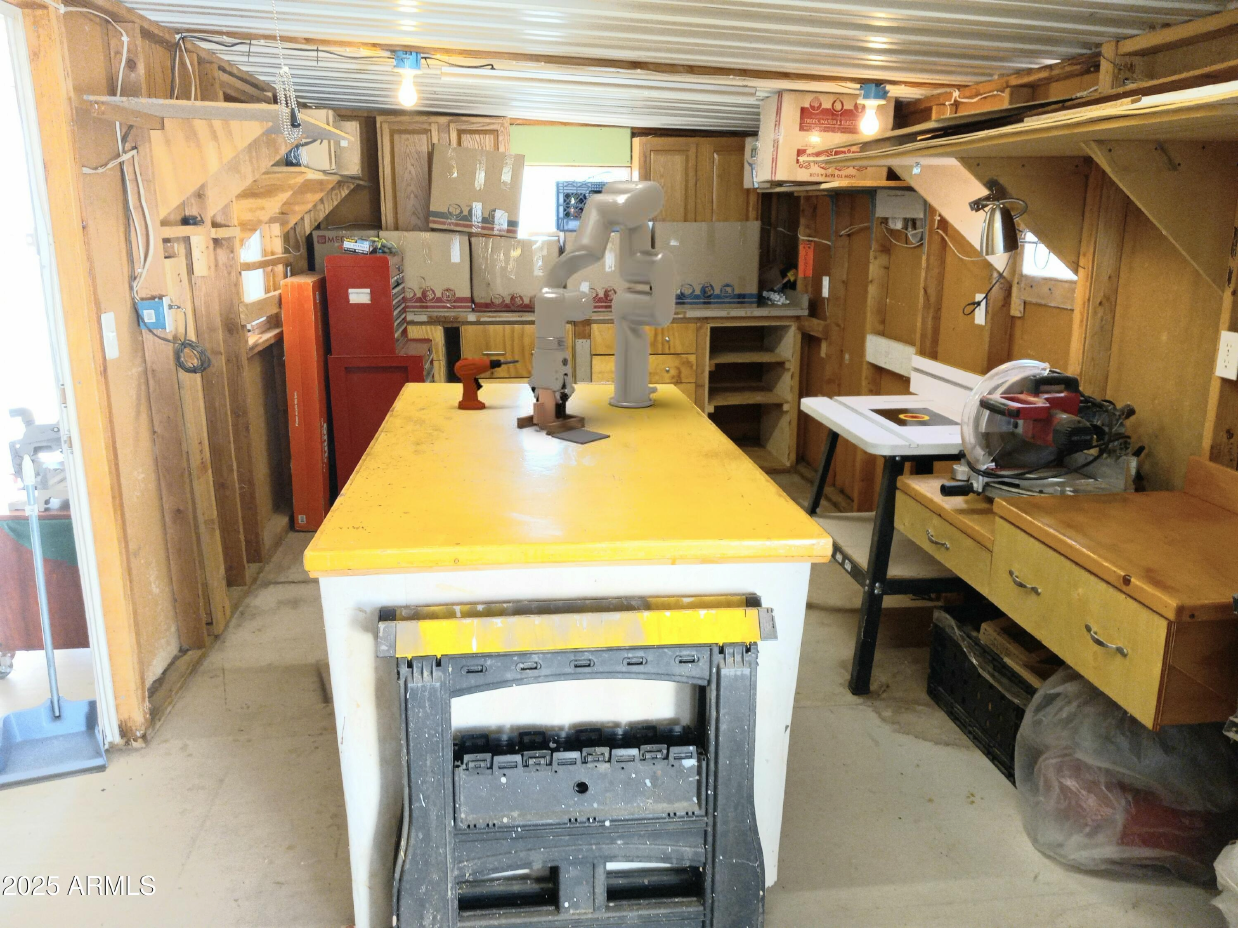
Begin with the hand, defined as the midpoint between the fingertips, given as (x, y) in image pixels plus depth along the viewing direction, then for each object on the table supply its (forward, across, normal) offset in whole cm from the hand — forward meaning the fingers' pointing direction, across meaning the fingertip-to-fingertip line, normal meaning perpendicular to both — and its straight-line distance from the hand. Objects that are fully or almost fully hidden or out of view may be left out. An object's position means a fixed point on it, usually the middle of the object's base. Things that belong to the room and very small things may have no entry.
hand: (550, 415), depth 228 cm
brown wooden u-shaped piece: (+3, 0, 0) cm, 3 cm away
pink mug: (+3, 0, +1) cm, 3 cm away
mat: (+3, -12, +2) cm, 13 cm away
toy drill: (+3, +28, -4) cm, 28 cm away
